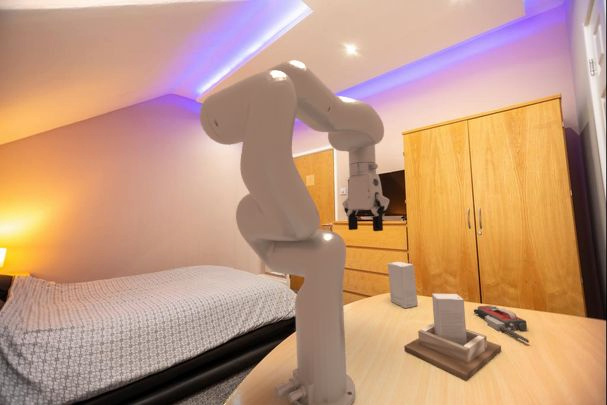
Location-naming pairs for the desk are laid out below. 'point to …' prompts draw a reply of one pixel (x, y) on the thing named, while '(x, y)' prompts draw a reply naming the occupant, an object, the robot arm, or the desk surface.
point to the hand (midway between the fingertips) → (364, 230)
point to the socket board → (453, 352)
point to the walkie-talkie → (502, 320)
